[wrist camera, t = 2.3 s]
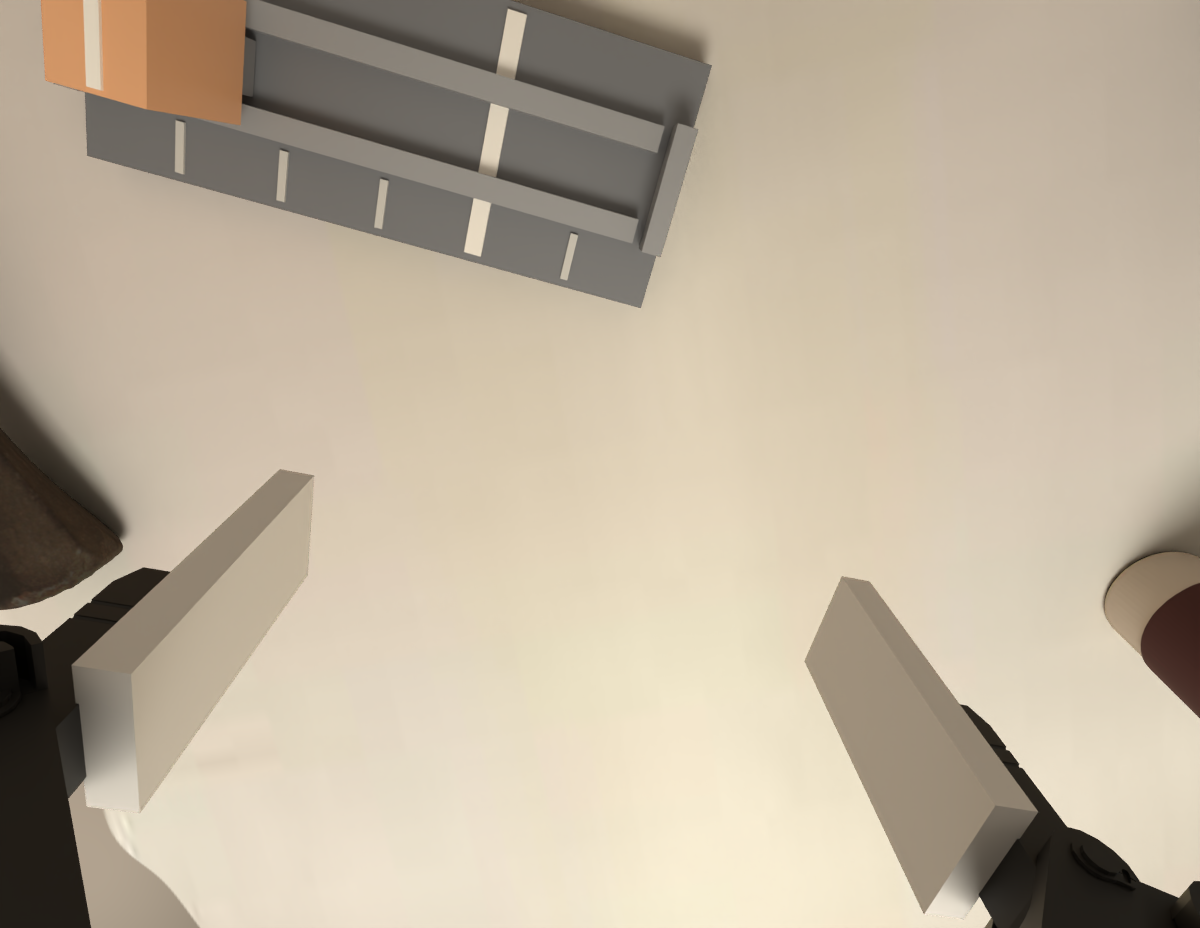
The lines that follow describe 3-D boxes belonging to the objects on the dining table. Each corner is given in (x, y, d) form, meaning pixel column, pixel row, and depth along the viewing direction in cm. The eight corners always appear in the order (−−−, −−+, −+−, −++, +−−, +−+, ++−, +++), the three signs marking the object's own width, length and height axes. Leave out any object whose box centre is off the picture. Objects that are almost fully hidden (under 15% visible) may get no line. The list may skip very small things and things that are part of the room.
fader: (187, -13, 30) (32, -89, 21) (265, 11, 30) (143, -54, 22) (184, 107, 31) (42, 79, 23) (258, 128, 32) (144, 109, 24)
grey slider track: (108, -122, 30) (41, -165, 26) (704, 72, 33) (719, 58, 29) (114, 157, 34) (57, 154, 31) (638, 302, 38) (643, 314, 34)
